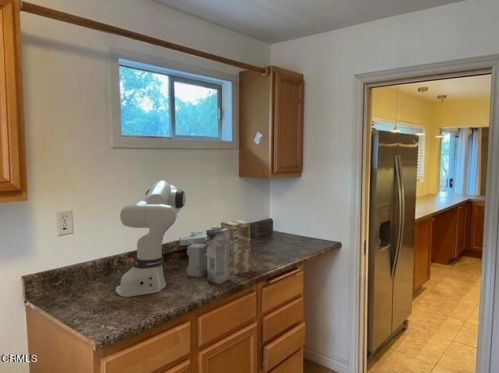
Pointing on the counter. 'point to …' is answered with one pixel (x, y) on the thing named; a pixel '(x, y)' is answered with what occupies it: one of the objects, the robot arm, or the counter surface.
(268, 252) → the counter surface
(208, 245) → the juice carton
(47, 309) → the counter surface
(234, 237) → the baking soda box
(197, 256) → the circuit breaker
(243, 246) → the birch stool
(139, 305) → the counter surface
